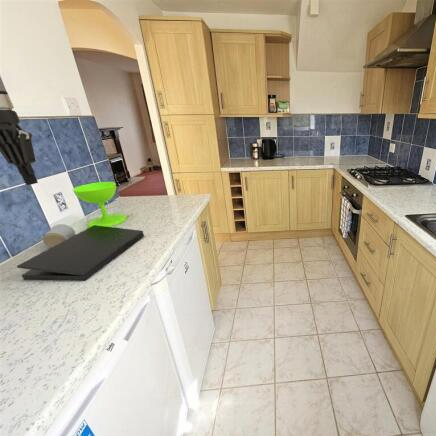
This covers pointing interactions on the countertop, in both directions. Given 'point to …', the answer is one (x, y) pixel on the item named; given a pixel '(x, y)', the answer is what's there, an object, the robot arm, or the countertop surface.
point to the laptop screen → (82, 251)
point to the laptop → (61, 276)
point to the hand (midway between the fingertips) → (32, 183)
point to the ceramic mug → (58, 235)
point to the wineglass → (100, 202)
